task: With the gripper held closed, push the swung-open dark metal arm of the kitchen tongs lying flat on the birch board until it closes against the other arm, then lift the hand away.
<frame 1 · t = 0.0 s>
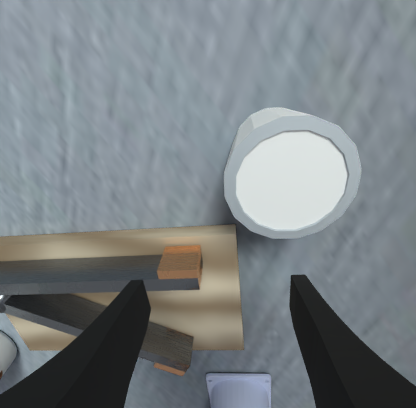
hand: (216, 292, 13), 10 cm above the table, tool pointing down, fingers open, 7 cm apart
tongs fixed arm: (31, 268, 27), resting on board
white cup: (270, 146, 20), on the table
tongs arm: (98, 324, 25), point 3 cm above the table, hinge at -30.0°
board: (119, 291, 28), on the table
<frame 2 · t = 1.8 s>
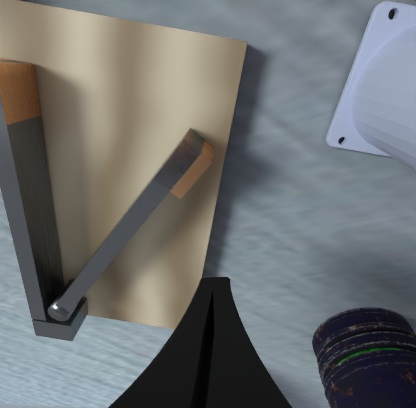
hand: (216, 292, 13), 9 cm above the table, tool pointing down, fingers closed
tongs fixed arm: (86, 273, 26), resting on board
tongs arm: (119, 240, 20), point 3 cm above the table, hinge at -30.0°
board: (122, 203, 22), on the table
storage jar: (359, 338, 28), on the table
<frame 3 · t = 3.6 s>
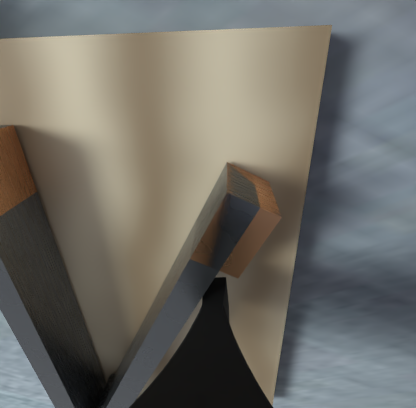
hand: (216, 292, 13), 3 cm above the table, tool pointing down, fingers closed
tongs fixed arm: (128, 357, 21), resting on board
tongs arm: (160, 331, 14), point 3 cm above the table, hinge at -26.6°, touching gripper
board: (161, 275, 16), on the table
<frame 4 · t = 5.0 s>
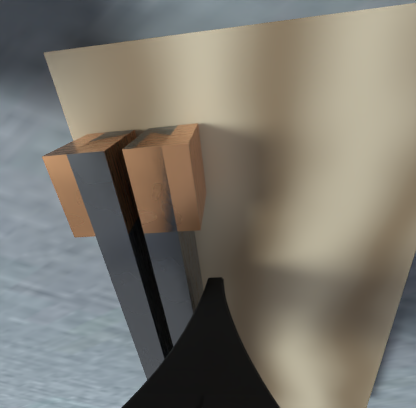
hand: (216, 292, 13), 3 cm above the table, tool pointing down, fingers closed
tongs fixed arm: (211, 362, 20), resting on board
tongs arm: (195, 322, 13), point 3 cm above the table, hinge at 0.1°, touching gripper
board: (255, 276, 16), on the table
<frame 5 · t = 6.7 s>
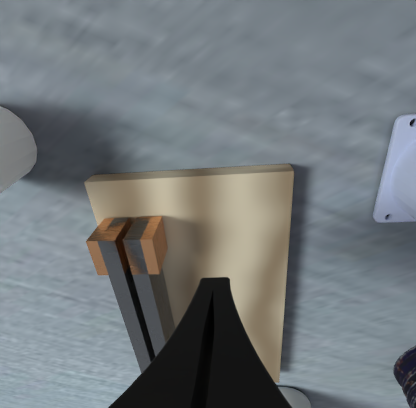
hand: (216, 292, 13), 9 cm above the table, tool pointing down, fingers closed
tongs fixed arm: (179, 346, 30), resting on board
white cup: (2, 141, 20), on the table
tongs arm: (162, 318, 23), point 3 cm above the table, hinge at 0.1°
milk bottle: (278, 399, 34), on the table
board: (202, 290, 26), on the table
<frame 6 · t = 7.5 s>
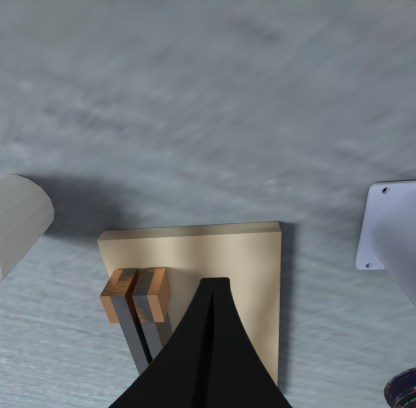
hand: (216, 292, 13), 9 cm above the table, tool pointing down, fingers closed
tongs fixed arm: (183, 372, 32), resting on board
white cup: (23, 203, 23), on the table
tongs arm: (168, 354, 26), point 3 cm above the table, hinge at 0.1°
board: (204, 325, 28), on the table
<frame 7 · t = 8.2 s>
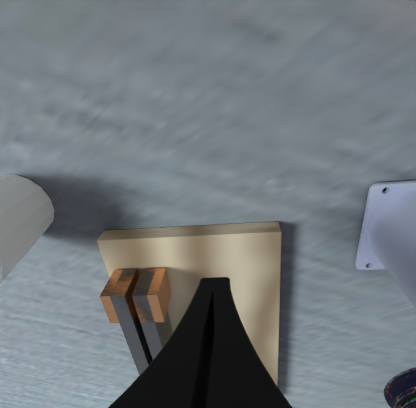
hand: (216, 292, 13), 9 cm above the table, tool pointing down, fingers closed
tongs fixed arm: (183, 372, 32), resting on board
white cup: (23, 203, 23), on the table
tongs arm: (168, 354, 26), point 3 cm above the table, hinge at 0.1°
board: (204, 325, 28), on the table
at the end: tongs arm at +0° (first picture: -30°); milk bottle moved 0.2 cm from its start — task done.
